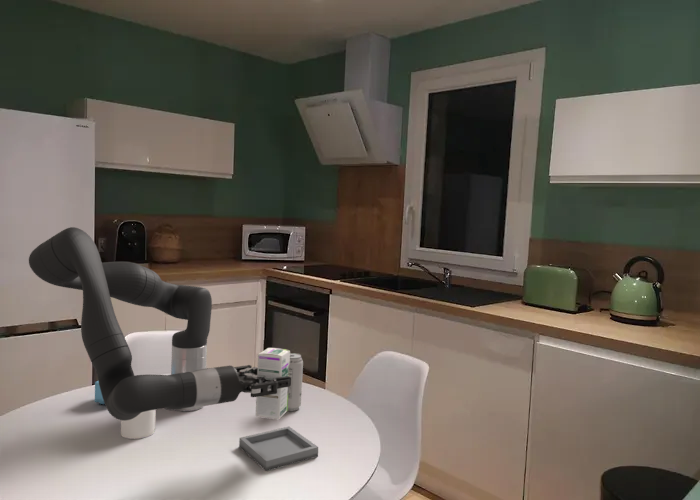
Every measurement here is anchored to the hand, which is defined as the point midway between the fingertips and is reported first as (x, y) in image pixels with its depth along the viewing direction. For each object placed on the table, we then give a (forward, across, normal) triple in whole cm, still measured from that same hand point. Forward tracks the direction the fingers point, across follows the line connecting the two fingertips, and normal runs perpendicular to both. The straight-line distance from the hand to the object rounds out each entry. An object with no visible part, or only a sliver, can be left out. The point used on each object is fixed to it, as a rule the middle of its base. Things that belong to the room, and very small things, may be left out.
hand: (281, 375), depth 119 cm
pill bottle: (-24, +26, +18) cm, 40 cm away
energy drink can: (+16, +22, +18) cm, 32 cm away
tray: (0, 0, +18) cm, 18 cm away
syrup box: (-2, 0, +9) cm, 9 cm away
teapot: (-24, +50, +18) cm, 58 cm away
